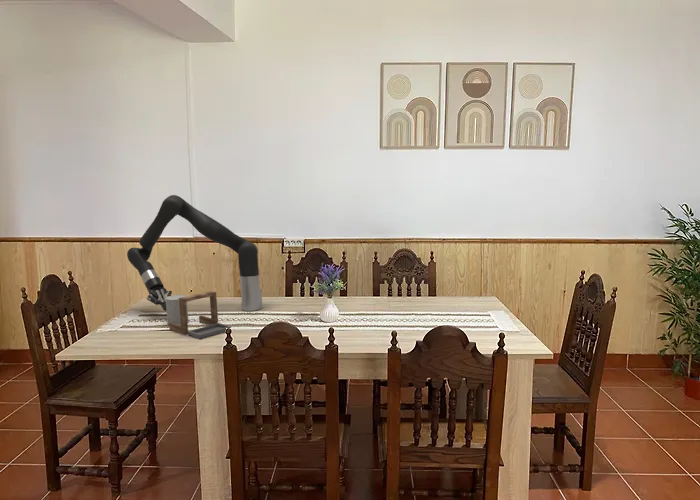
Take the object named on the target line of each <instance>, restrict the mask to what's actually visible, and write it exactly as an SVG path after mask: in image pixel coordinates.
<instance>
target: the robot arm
mask: <svg viewBox="0 0 700 500" xmlns="http://www.w3.org/2000/svg"><path fill="white" fill-rule="evenodd" d="M176 216H179V217H180V218H183V219H185V220H186V221H188V222H189V223H190V224H191V225H192V227H194V229H195V230H196V231H197V232H198V233H199V234H201V235H202V236H204V237H205V238H207V239H209V240H211V242H212V241H213V242H215V243H217V244H220V245H223V246H225V247H227V248H229V249H231V250H232V251H234V252H235V253H236V254H238V257H237V258H238V269H239V280H240V295H241V296H240V297H241V299H240V300H241V310H242V311H243V312H253V311H258V310H260V309H263V294H262V289H261V288H260V287H261V286H260V269H259V258H258V257H259V256H258V255H259V251H258V246H257V245H256V244H255V243H254V242H252V241H249V240H247V239H245V238H243V237H241V236H239V235H238V234H236V233H234V232H233V231H232V230H231V229H229V228H228V227H226V226H225V225H223V224H222V223H221V222H219V221H217V220H216V219H214V218H212V217H211V216H209V215H207V214H206V213H204V212H202V211H201V210H198V209H197V208H196V207H194V206H192V205H191V204H190V203H189V202H187V201H186V200H185V199H184V198H182V197H181V196H179V195H178V194H177V195H176V194H171V195H169V196H167V197H166V198H165V199H164V200H163V201H162V203H161V205H160V208H159V209H158V212H157V214H156V216H155V218H154V220H153V221H152V222H151V224H150V225H149V226H148V228H147V229H146V231H145V232H144V233H143V235H142V236H141V237H140V239H139V241H138V242H139V245H140V247H130V248H129V249H128V250H127V253H126V256H127V259H128V262H130V264H131V265H132V266H133V268H135V269H136V270H137V272H138V273H139V275H140V277H141V280H142V282H143V285H144V286H145V288H146V290H147V292H148V295H147V297H146V300H147V301H149V302H150V303H152V304H154V305H156V306H158V305H160V306H161V308H162V310H163V311H165V312H167V311H166V299H165V298H166V297H168V296H172V295H173V294H172V293H173V291H172V290H169V291H168V290H167V289H166V287H164V284H163V281H162V280H161V278H160V276H159V274H158V273H157V272H156V269H155V267H154V266H153V265H152V263H151V262H150V261H149V259H150V257H151V255H152V252H153V248H154V246H155V245H156V244H157V242H158V240H159V239H160V237H161V236H162V234H163V232H164V230H165V228H166V227H167V226H168V224H169V223H170V222H171V221H172V220H173V219H174V218H175V217H176Z"/></svg>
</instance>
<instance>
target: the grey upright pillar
mask: <svg viewBox="0 0 700 500" xmlns="http://www.w3.org/2000/svg"><path fill="white" fill-rule="evenodd" d="M187 296H188V295H185V294H174V295H173V294H171V296H168V297H167V296H166V298H165V299H166V311H165V312H166V321H167V326H169V323H175V324H178V325H181V320H180V307H179V298H182V297H187ZM186 310H187V323H188V324H189V322H190V321H189V313H188V311H189V310H188V302H186Z"/></svg>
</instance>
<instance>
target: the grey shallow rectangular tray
mask: <svg viewBox="0 0 700 500" xmlns="http://www.w3.org/2000/svg"><path fill="white" fill-rule="evenodd" d="M226 328H231V329H232V326H230V325H227V324H225V323H220V322H218V323H217V324H213V325H205V326H202V327H198V328H194V329H191V330H188V335H187V336H188V337H191V338H194V339H197V338H198V339H197V340H204V339H206V338H210V337H214V336H218V335H221V333H222V334H224V333H225V334H226V332H225V330H226ZM203 338H204V339H203Z"/></svg>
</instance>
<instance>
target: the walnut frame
mask: <svg viewBox="0 0 700 500" xmlns="http://www.w3.org/2000/svg"><path fill="white" fill-rule="evenodd" d="M186 296H187V297H182V298H179V307H180V320H181V325H178V324H175V323H169V325H168V326H169V327H168V328H169V331H171V332H175V333H178V334H181V335H182V336H183V335H184V336H188V331H189V326H188V324H189V322H188V323H187V310H186V302H187V303H188V302H193V301H196V300H200V299H205V298H209V304H210V317H209V316H206V315H202V314H201V315H199V316H198V321H199V323H200V324H202V325H206V326H209V325H213V324H217V323H219V315H218V314H219V313H218V300H217V291H214V290H211V291H205V292H201V293H196V294H192V295H186Z"/></svg>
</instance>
